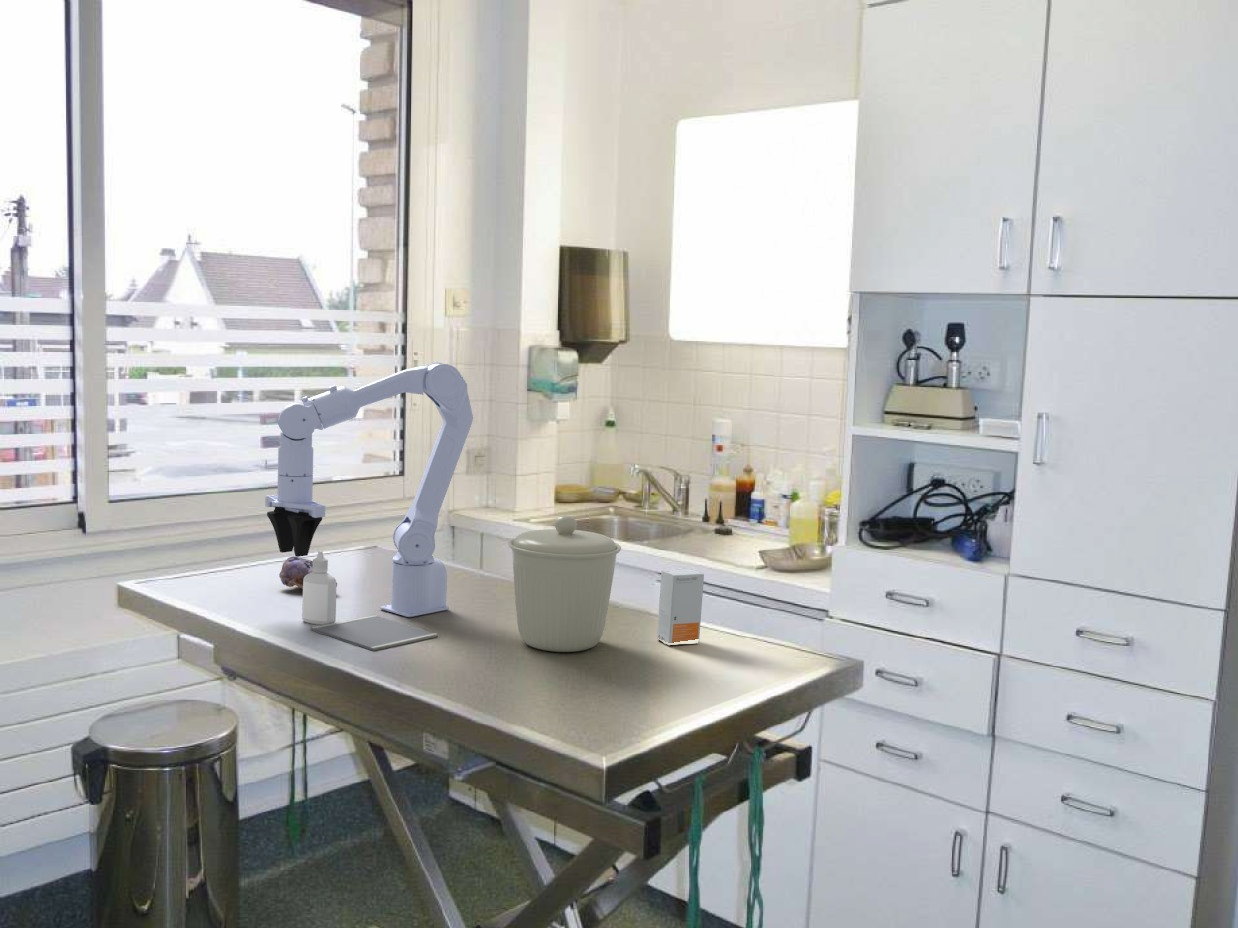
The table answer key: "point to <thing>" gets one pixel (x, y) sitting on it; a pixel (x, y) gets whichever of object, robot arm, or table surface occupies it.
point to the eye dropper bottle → (319, 594)
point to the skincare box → (680, 605)
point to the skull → (295, 571)
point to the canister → (562, 585)
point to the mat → (374, 632)
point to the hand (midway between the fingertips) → (293, 553)
